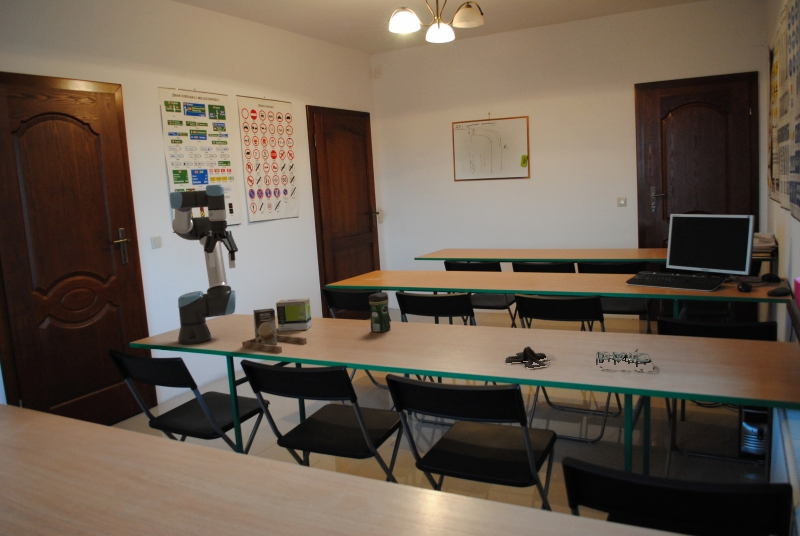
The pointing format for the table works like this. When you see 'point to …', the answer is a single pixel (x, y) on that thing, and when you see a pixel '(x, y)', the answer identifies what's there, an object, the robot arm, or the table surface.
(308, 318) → the tea box
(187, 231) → the robot arm
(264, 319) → the coffee box
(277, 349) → the brown wooden flat frame
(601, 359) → the neon sign
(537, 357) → the cloth
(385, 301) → the coffee jar
